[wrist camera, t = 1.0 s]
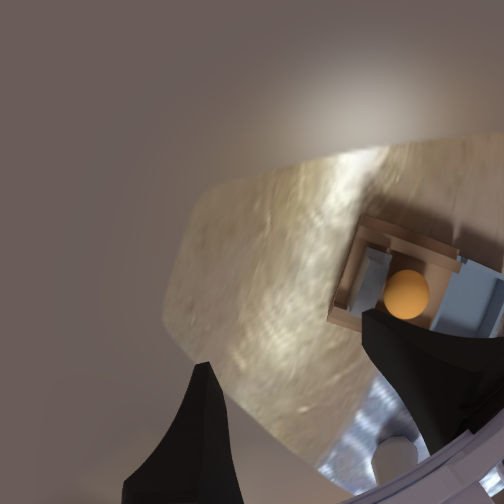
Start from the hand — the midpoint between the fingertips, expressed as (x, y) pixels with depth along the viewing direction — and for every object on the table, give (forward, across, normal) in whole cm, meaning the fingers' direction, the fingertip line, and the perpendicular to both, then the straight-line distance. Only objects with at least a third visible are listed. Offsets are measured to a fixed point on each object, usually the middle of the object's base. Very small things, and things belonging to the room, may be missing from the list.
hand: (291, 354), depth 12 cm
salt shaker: (+4, -11, +26) cm, 28 cm away
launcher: (+10, -12, +5) cm, 17 cm away
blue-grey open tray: (+6, -19, +9) cm, 22 cm away
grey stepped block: (+9, -9, +4) cm, 14 cm away
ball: (+6, -11, +4) cm, 14 cm away
